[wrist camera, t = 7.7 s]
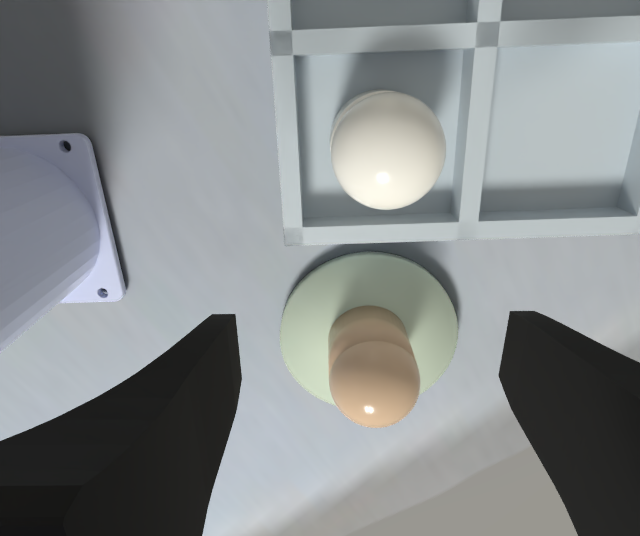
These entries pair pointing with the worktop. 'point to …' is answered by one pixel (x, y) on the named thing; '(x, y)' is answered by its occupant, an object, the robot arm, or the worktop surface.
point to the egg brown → (372, 367)
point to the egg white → (386, 149)
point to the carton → (466, 114)
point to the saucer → (361, 290)
